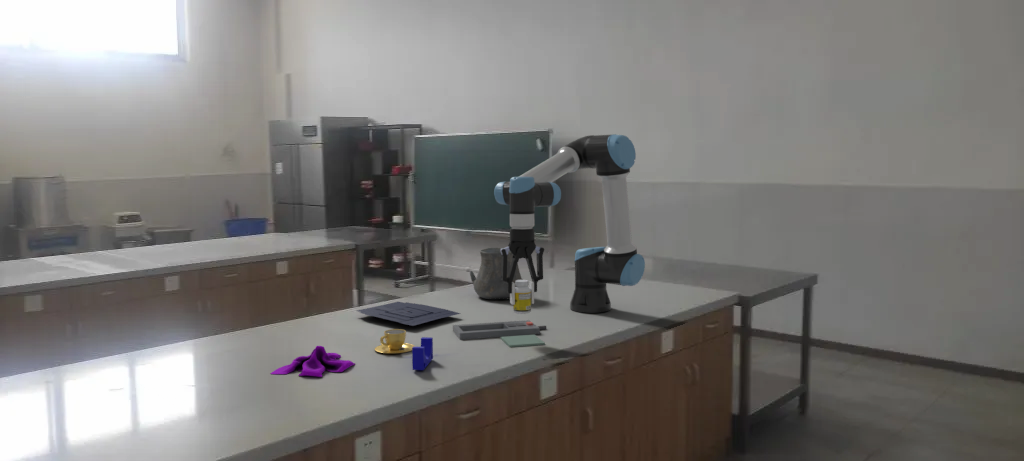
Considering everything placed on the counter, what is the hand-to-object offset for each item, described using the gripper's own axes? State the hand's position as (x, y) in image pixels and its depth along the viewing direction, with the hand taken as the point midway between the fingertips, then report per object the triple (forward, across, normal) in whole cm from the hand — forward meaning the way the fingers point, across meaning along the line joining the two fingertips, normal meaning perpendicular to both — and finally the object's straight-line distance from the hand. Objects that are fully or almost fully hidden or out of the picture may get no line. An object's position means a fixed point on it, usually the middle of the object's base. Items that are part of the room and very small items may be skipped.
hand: (522, 303), depth 227 cm
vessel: (+12, -11, -71) cm, 73 cm away
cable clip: (+13, +34, +15) cm, 39 cm away
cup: (+13, +38, -3) cm, 41 cm away
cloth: (+13, +62, +10) cm, 64 cm away
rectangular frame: (+12, +5, -14) cm, 19 cm away
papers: (+12, +30, -42) cm, 53 cm away
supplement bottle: (+3, 0, 0) cm, 3 cm away
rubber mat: (+12, 0, 0) cm, 12 cm away
